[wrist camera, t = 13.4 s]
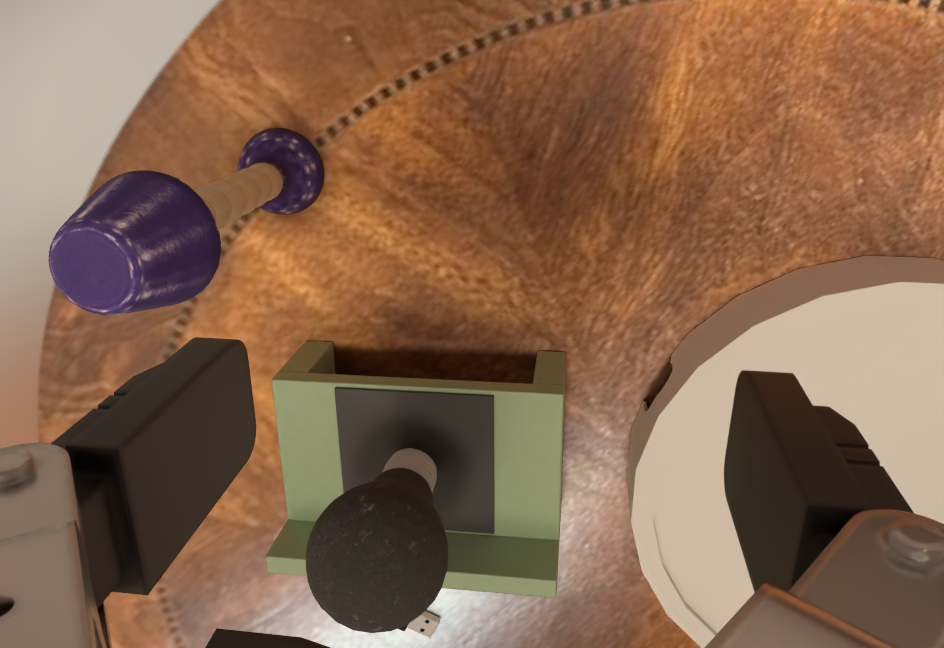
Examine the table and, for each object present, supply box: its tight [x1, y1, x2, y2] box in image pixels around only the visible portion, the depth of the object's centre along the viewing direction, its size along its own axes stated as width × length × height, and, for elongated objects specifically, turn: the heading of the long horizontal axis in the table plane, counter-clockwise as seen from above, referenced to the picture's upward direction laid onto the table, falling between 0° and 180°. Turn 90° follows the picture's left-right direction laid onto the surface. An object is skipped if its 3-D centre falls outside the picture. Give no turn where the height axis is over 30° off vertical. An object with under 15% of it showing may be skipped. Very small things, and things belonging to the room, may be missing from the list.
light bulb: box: [306, 448, 448, 633], centre depth 32 cm, size 6×6×10 cm
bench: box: [266, 341, 567, 598], centre depth 38 cm, size 14×9×8 cm, turn 91°
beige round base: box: [627, 255, 944, 648], centre depth 37 cm, size 23×23×4 cm
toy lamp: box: [49, 128, 324, 315], centre depth 30 cm, size 5×5×17 cm
